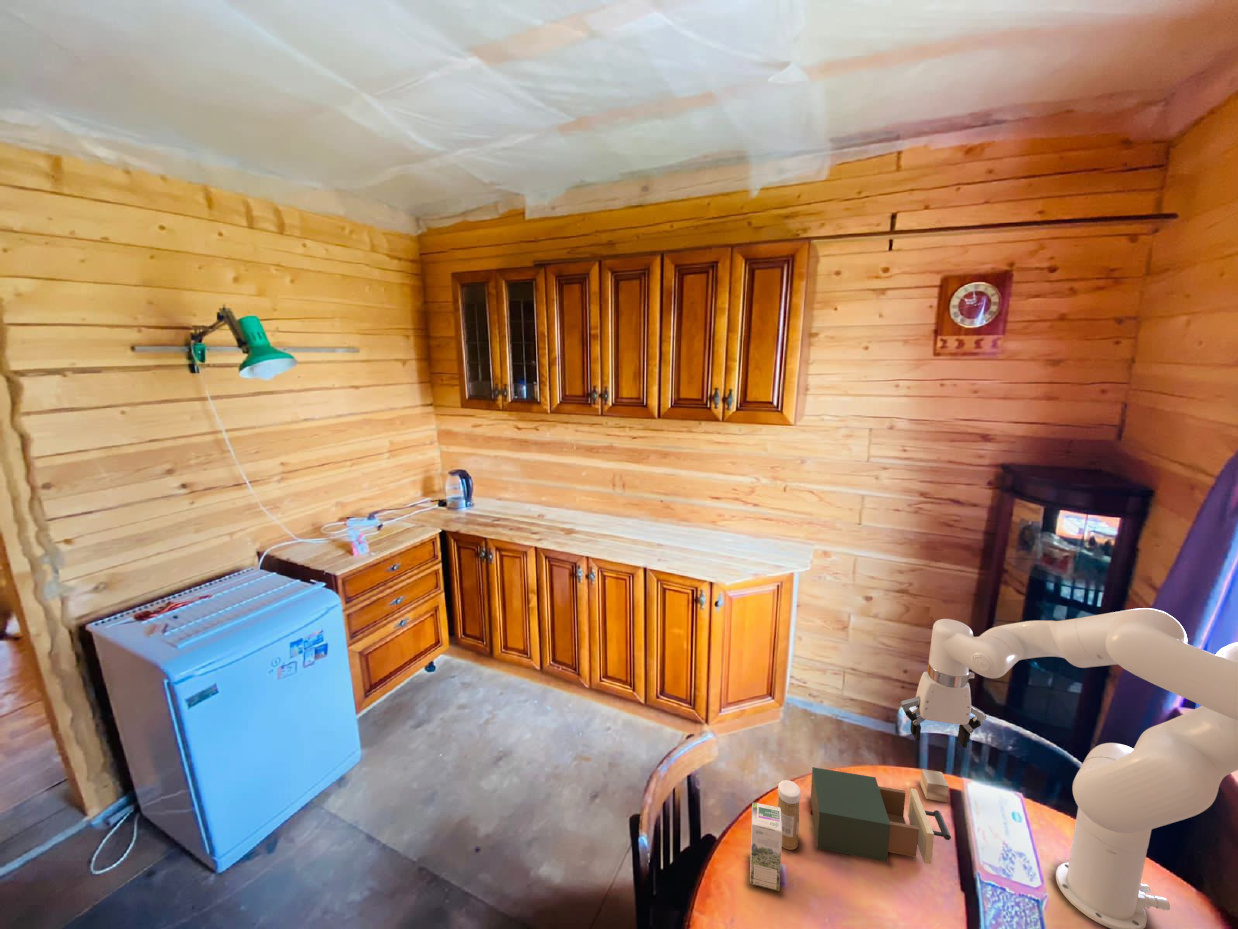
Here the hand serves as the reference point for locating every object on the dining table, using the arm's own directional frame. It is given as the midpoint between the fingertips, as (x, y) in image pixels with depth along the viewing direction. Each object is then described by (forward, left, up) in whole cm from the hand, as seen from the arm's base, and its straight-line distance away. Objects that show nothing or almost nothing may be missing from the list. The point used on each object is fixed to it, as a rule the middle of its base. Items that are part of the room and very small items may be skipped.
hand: (938, 740), depth 117 cm
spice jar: (+34, +20, -16) cm, 43 cm away
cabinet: (+21, +14, -15) cm, 30 cm away
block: (-1, -1, -15) cm, 15 cm away
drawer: (+11, +14, -15) cm, 23 cm away
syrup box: (+39, +29, -16) cm, 51 cm away
